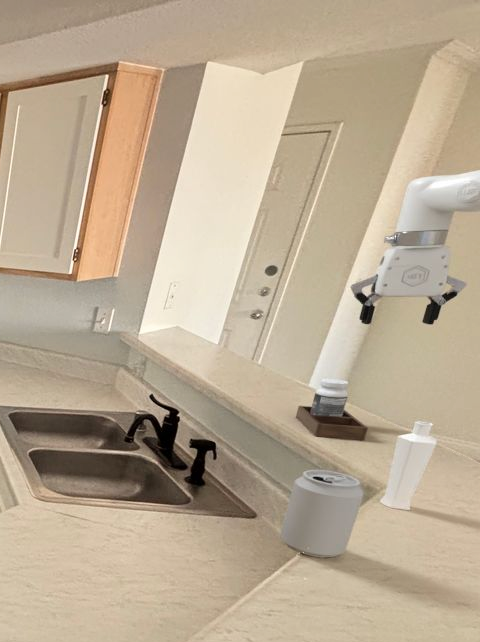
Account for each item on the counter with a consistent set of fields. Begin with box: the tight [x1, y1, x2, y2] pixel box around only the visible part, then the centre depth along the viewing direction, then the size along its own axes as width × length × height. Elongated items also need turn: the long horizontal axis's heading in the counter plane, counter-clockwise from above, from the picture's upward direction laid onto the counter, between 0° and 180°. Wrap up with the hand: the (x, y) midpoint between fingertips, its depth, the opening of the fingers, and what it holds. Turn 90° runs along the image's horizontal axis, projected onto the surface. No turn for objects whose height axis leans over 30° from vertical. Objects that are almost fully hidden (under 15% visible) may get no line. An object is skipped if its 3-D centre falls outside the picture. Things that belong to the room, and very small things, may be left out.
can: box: [279, 469, 365, 559], centre depth 88 cm, size 8×8×12 cm
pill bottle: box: [310, 378, 349, 417], centre depth 140 cm, size 6×6×10 cm
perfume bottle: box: [379, 420, 438, 511], centre depth 99 cm, size 5×4×15 cm
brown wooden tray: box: [295, 405, 369, 441], centre depth 139 cm, size 8×16×3 cm, turn 151°
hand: (396, 323), depth 127 cm, fingers open, 9 cm apart
